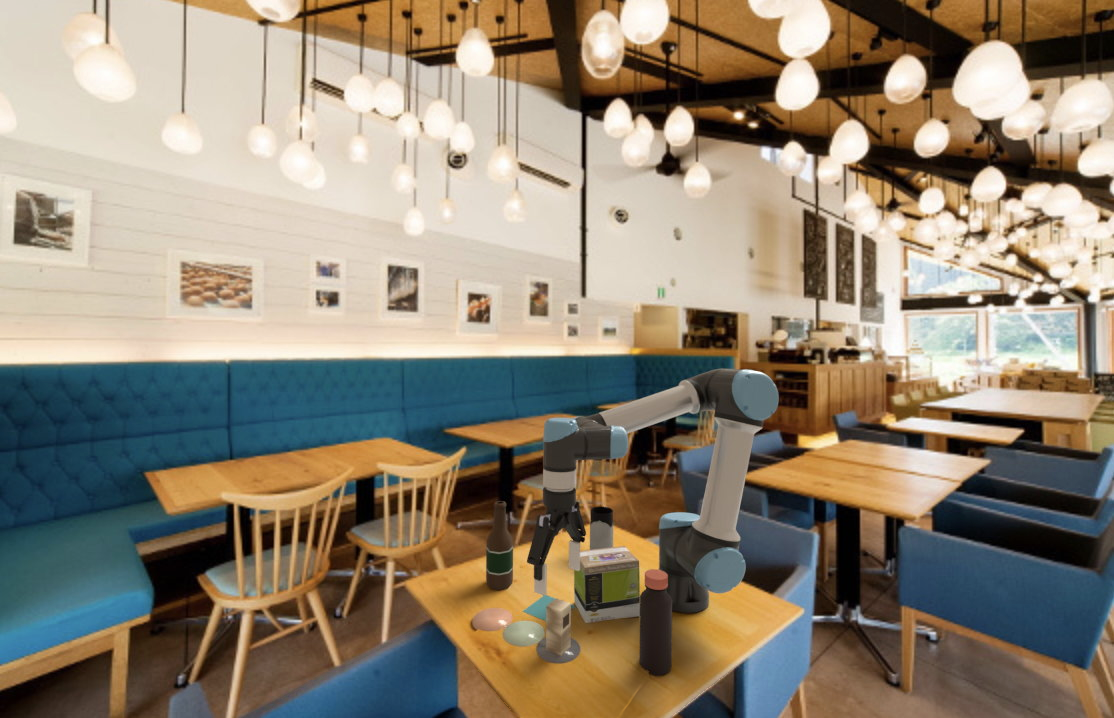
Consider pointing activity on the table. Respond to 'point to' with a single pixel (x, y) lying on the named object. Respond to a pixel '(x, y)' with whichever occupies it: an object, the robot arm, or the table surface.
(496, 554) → the beer bottle
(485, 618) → the pink round disc
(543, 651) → the grey flat round disc
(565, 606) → the letter block
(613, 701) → the table surface
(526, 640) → the saucer middle
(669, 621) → the vinegar
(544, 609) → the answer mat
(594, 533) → the black and grey mug
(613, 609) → the coffee pod box
